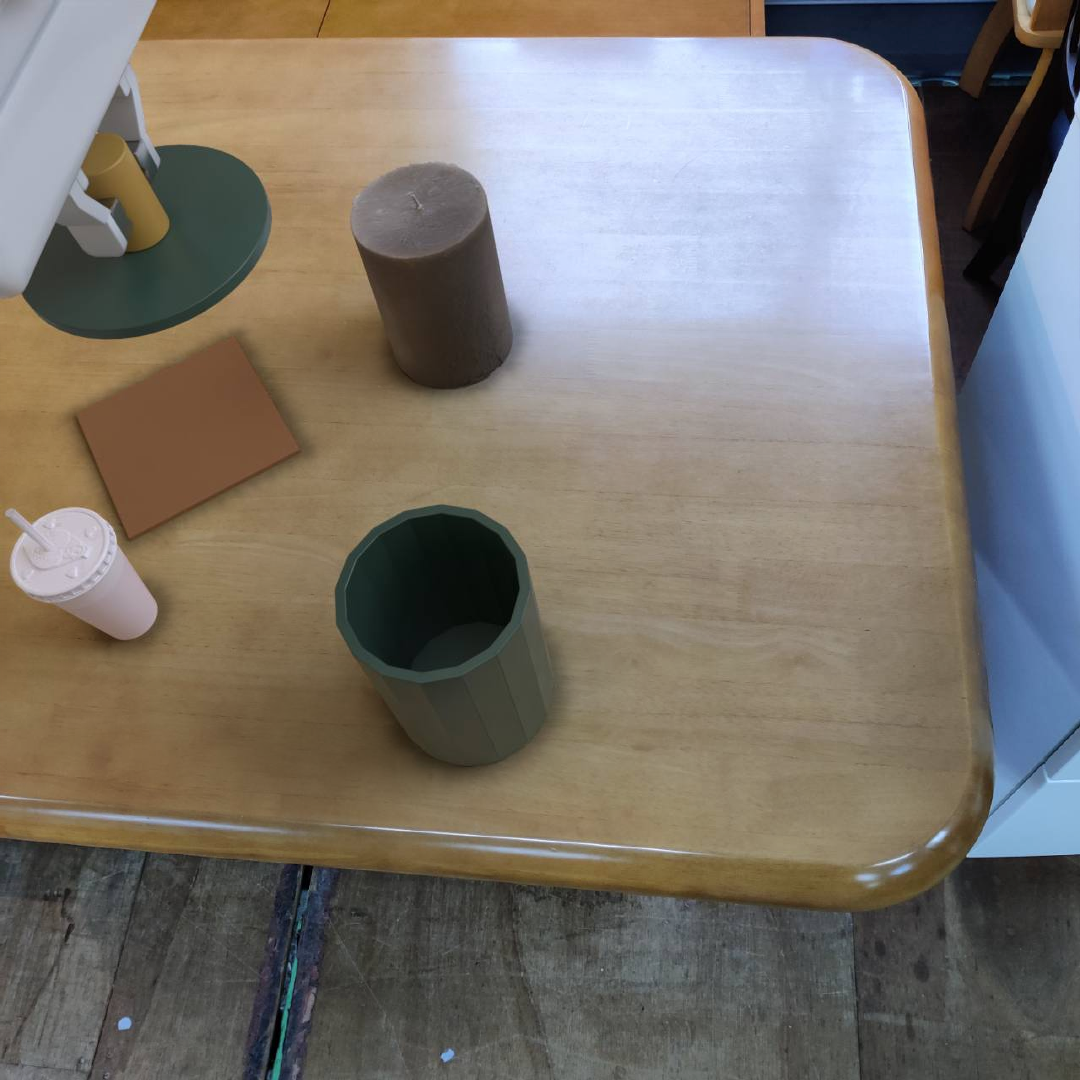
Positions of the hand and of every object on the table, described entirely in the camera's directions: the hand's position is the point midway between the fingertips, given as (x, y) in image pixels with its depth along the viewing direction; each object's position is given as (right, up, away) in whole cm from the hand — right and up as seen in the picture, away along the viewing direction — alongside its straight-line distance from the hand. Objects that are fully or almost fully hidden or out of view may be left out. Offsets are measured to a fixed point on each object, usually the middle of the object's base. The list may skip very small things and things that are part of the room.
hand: (127, 211), depth 40 cm
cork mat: (-10, -6, +35) cm, 36 cm away
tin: (+13, -24, +22) cm, 35 cm away
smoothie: (-11, -19, +27) cm, 35 cm away
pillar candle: (+11, +2, +37) cm, 38 cm away
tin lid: (0, -1, +2) cm, 2 cm away
